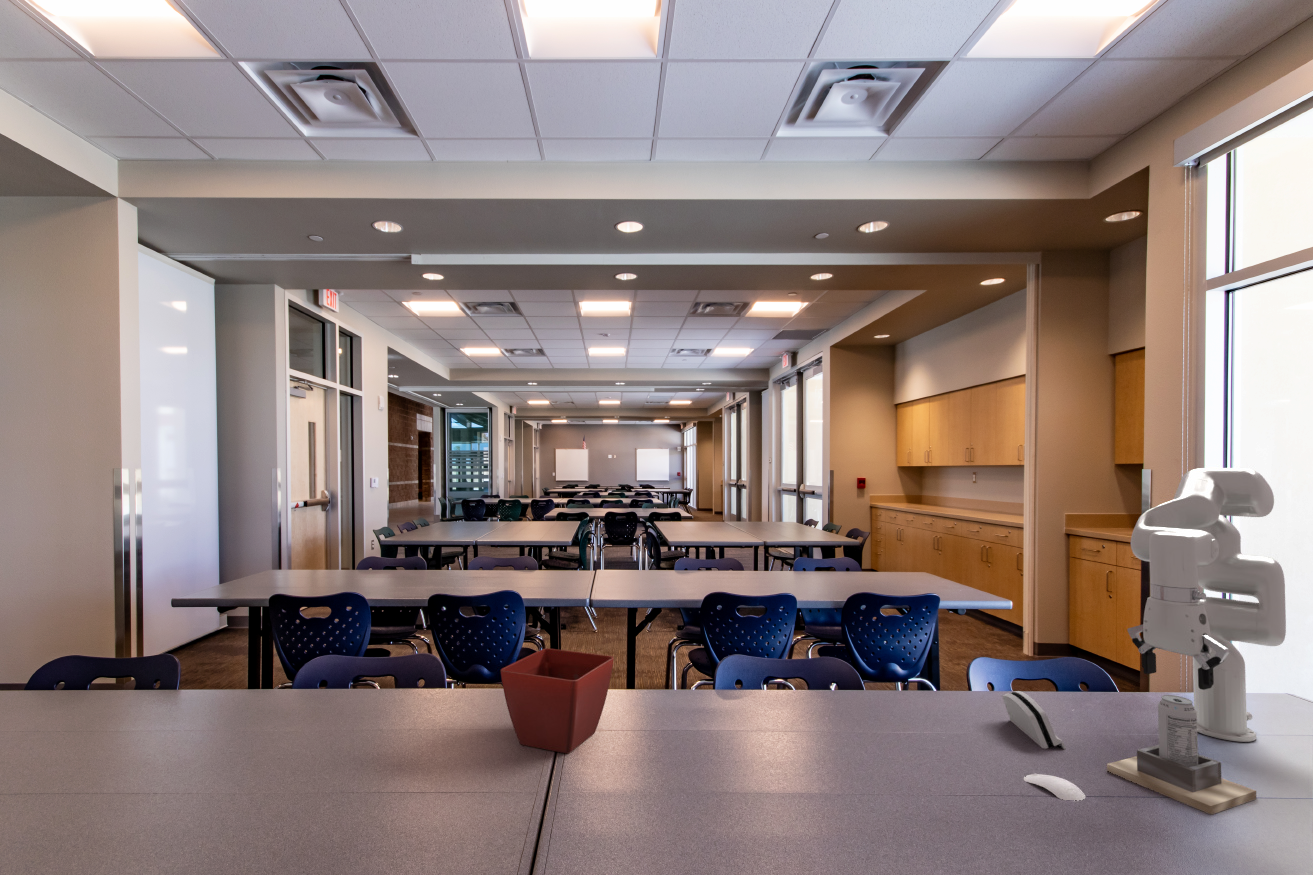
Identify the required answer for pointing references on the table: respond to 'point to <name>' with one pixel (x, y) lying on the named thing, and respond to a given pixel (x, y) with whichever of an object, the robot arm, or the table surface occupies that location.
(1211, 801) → the socket board
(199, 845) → the table surface
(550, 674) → the plant pot
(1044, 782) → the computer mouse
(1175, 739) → the energy drink can
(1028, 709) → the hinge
